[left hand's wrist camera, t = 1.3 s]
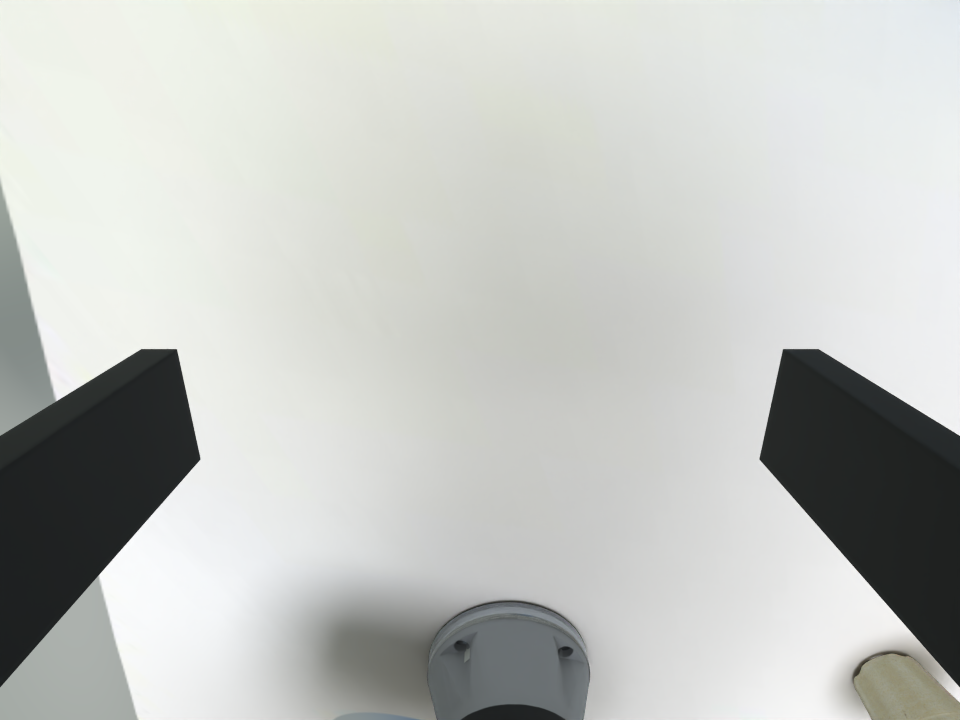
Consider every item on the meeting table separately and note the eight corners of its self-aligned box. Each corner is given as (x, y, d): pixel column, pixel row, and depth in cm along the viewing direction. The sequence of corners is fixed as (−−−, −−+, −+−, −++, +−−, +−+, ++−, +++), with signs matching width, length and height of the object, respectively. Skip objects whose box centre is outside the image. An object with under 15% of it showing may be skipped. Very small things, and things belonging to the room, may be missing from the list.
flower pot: (890, 624, 52) (965, 714, 44) (957, 664, 54) (1040, 757, 46) (815, 683, 55) (872, 778, 47) (881, 719, 57) (946, 816, 49)
